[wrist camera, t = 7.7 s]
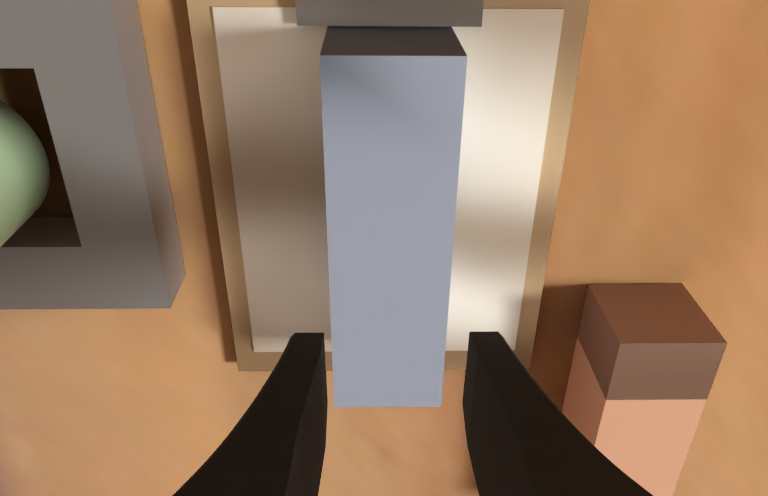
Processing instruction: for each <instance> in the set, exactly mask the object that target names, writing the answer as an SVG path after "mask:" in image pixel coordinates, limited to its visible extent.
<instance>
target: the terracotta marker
mask: <svg viewBox="0 0 768 496" xmlns="http://www.w3.org/2000/svg"><path fill="white" fill-rule="evenodd" d="M726 345H727V342H726V341H725V339H724V338H723V337H722V335H721V334H720V333H719V331H718V330H717V329H716V328H715V326H714V325H713V324H712V322H711V321H710V320H709V318H708V317H707V316H706V314H705V313H704V312H703V310H702V309H701V308H700V307H699V305H698V304H697V303H696V301H695V300H694V299H693V297H692V296H691V295H690V293H689V292H688V291H687V289H686V288H685V287H684V286H683V284H682V283H630V284H588V287H587V292H586V297H585V302H584V307H583V312H582V317H581V321H580V326H579V331H578V336H577V341H576V346H575V350H574V355H573V360H572V365H571V370H570V375H569V380H568V384H567V389H566V394H565V399H564V404H563V409H562V413H563V414H564V415H565V416H566V417H567V419H568V420H569V421H570V422H571V423H572V424H573V425H574V426H575V427H576V428H577V429H578V430H579V431H580V432H581V433H582V434H583V435H584V436H585V437H586V438H587V439H588V440H589V441H590V442H591V443H592V444H593V445H594V446H595V447H596V448H597V449H598V450H599V451H600V452H601V453H602V454H603V455H604V456H606V457H607V458H608V459H609V460H610V461H611V462H612V463H613V464H614V465H616V466H617V467H618V468H619V469H620V470H621V471H623V472H624V473H625V474H626V475H627V476H629V477H630V478H631V479H633V480H634V481H635V482H636V483H638V484H639V485H640V486H642V487H643V488H644V489H645V490H647V491H648V492H649V493H651V494H652V495H653V496H672V495H673V492H674V489H675V487H676V484H677V481H678V478H679V476H680V473H681V470H682V467H683V464H684V462H685V459H686V456H687V453H688V451H689V448H690V445H691V442H692V439H693V437H694V434H695V431H696V428H697V426H698V423H699V420H700V417H701V414H702V412H703V409H704V406H705V403H706V401H707V398H708V395H709V392H710V389H711V387H712V384H713V381H714V378H715V376H716V373H717V370H718V367H719V364H720V362H721V359H722V356H723V353H724V351H725V348H726Z"/></svg>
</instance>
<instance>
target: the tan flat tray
mask: <svg viewBox="0 0 768 496" xmlns="http://www.w3.org/2000/svg"><path fill="white" fill-rule="evenodd" d="M186 2H187V9H188V16H189V23H190V30H191V37H192V44H193V52H194V59H195V66H196V73H197V80H198V87H199V94H200V101H201V109H202V116H203V123H204V130H205V137H206V144H207V151H208V158H209V166H210V173H211V180H212V187H213V194H214V201H215V208H216V215H217V223H218V230H219V237H220V244H221V251H222V258H223V265H224V272H225V280H226V287H227V294H228V301H229V308H230V315H231V322H232V329H233V337H234V344H235V351H236V358H237V365H238V371H273V370H274V368H275V366H276V365H277V363H278V361H279V359H280V357H281V355H282V354H283V352H284V350H285V348H286V346H287V343H288V341H289V339H290V337H291V336H292V335H293V334H294V333H324V343H325V364H326V371H331V370H333V366H332V341H331V317H330V293H329V268H328V244H327V219H326V195H325V171H324V146H323V122H322V97H321V73H320V53H321V49H322V45H323V41H324V38H325V34H326V30H327V26H415V27H452V28H453V30H454V32H455V34H456V36H457V38H458V40H459V41H460V43H461V45H462V47H463V49H464V51H465V53H466V54H467V68H466V82H465V95H464V108H463V122H462V135H461V148H460V162H459V175H458V188H457V202H456V215H455V228H454V242H453V255H452V268H451V282H450V295H449V308H448V322H447V335H446V348H445V362H444V370H466V362H467V352H468V342H469V332H493V331H498V332H499V333H500V334H501V335H502V336H503V337H504V339H505V340H506V342H507V343H508V345H509V346H510V348H511V349H512V350H513V352H514V353H515V355H516V356H517V357H518V359H519V360H520V361H521V363H522V364H523V365H524V367H525V368H526V369H530V364H531V358H532V351H533V345H534V339H535V333H536V327H537V321H538V315H539V309H540V302H541V296H542V290H543V284H544V278H545V272H546V266H547V260H548V254H549V247H550V241H551V235H552V229H553V223H554V217H555V211H556V205H557V199H558V192H559V186H560V180H561V174H562V168H563V162H564V156H565V150H566V144H567V137H568V131H569V125H570V119H571V113H572V107H573V101H574V95H575V89H576V82H577V76H578V70H579V64H580V58H581V52H582V46H583V40H584V34H585V27H586V21H587V15H588V9H589V3H590V0H186Z"/></svg>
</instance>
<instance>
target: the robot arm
mask: <svg viewBox="0 0 768 496" xmlns="http://www.w3.org/2000/svg"><path fill="white" fill-rule="evenodd" d="M463 411H464V420H465V429H466V437H467V445H468V450H469V454H470V459H471V463H472V467H473V471H474V475H475V480H476V484H477V488H478V492H479V496H653V495H652V494H651V493H649V492H648V491H647V490H645V489H644V488H643V487H642V486H640V485H639V484H638V483H636V482H635V481H634V480H633V479H631V478H630V477H629V476H627V475H626V474H625V473H624V472H623V471H621V470H620V469H619V468H618V467H617V466H616V465H614V464H613V463H612V462H611V461H610V460H609V459H608V458H607V457H606V456H604V455H603V454H602V453H601V452H600V451H599V450H598V449H597V448H596V447H595V446H594V445H593V444H592V443H591V442H590V441H589V440H588V439H587V438H586V437H585V436H584V435H583V434H582V433H581V432H580V431H579V430H578V429H577V428H576V427H575V426H574V425H573V424H572V423H571V422H570V421H569V420H568V419H567V417H566V416H565V415H564V414H563V413H562V412H561V411H560V410H559V409H558V407H557V406H556V405H555V404H554V403H553V402H552V400H551V399H550V398H549V397H548V396H547V394H546V393H545V392H544V391H543V390H542V388H541V387H540V386H539V385H538V384H537V382H536V381H535V380H534V379H533V377H532V376H531V375H530V373H529V372H528V371H527V369H526V368H525V367H524V365H523V364H522V363H521V361H520V360H519V359H518V357H517V356H516V355H515V353H514V352H513V350H512V349H511V348H510V346H509V345H508V343H507V342H506V340H505V339H504V337H503V336H502V335H501V334H500V333H499V332H498V331H493V332H469V342H468V352H467V362H466V373H465V383H464V393H463ZM326 425H327V384H326V364H325V343H324V333H294V334H293V335H292V336H291V337H290V339H289V341H288V343H287V346H286V348H285V350H284V352H283V354H282V355H281V357H280V359H279V361H278V363H277V365H276V366H275V368H274V370H273V371H272V373H271V375H270V376H269V378H268V380H267V381H266V383H265V384H264V386H263V387H262V389H261V391H260V392H259V394H258V395H257V397H256V398H255V400H254V401H253V403H252V404H251V406H250V407H249V408H248V410H247V411H246V412H245V414H244V415H243V416H242V418H241V419H240V420H239V422H238V423H237V425H236V426H235V427H234V429H233V430H232V431H231V432H230V434H229V435H228V436H227V437H226V439H225V440H224V441H223V442H222V444H221V445H220V446H219V447H218V448H217V449H216V451H215V452H214V453H213V454H212V455H211V456H210V457H209V459H208V460H207V461H206V462H205V463H204V464H203V465H202V466H201V467H200V468H199V469H198V470H197V471H196V473H195V474H194V475H193V476H192V477H191V478H190V479H189V480H188V481H187V482H186V483H185V484H184V485H183V486H182V487H181V488H180V489H179V490H178V491H177V492H176V493H175V494H174V495H173V496H318V491H319V485H320V478H321V472H322V466H323V459H324V453H325V444H326Z"/></svg>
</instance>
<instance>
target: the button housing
mask: <svg viewBox="0 0 768 496" xmlns="http://www.w3.org/2000/svg"><path fill="white" fill-rule="evenodd" d="M0 68H34V72H35V75H36V79H37V83H38V86H39V90H40V94H41V98H42V101H43V105H44V109H45V113H46V116H47V120H48V124H49V127H50V131H51V135H52V139H53V142H54V146H55V150H56V153H57V157H58V161H59V165H60V168H61V172H62V176H63V179H64V183H65V187H66V191H67V194H68V198H69V202H70V205H71V209H72V213H73V216H70V217H30V218H29V219H28V220H27V221H26V222H25V223H24V224H23V225H22V226H21V227H20V228H19V229H18V230H17V231H16V232H15V233H14V234H13V235H12V236H11V237H10V238H9V239H8V240H7V241H6V242H5V243H4V244H3V245H2V246H1V247H0V309H125V308H171V305H172V303H173V301H174V299H175V297H176V294H177V292H178V290H179V288H180V286H181V284H182V281H183V279H184V277H185V275H186V274H185V269H184V263H183V257H182V252H181V246H180V241H179V235H178V229H177V224H176V218H175V212H174V207H173V201H172V195H171V190H170V184H169V179H168V173H167V167H166V162H165V156H164V150H163V145H162V139H161V134H160V128H159V122H158V117H157V111H156V105H155V100H154V94H153V88H152V83H151V77H150V72H149V66H148V60H147V55H146V49H145V43H144V38H143V32H142V27H141V21H140V15H139V10H138V4H137V0H0Z"/></svg>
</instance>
